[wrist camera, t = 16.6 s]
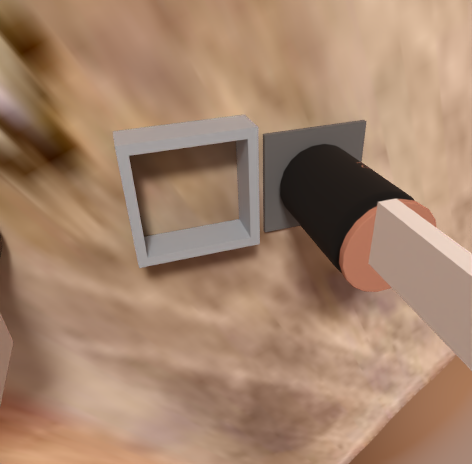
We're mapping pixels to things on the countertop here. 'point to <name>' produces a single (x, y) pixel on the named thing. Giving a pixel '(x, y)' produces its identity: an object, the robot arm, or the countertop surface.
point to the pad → (286, 148)
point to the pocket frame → (202, 237)
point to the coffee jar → (341, 208)
